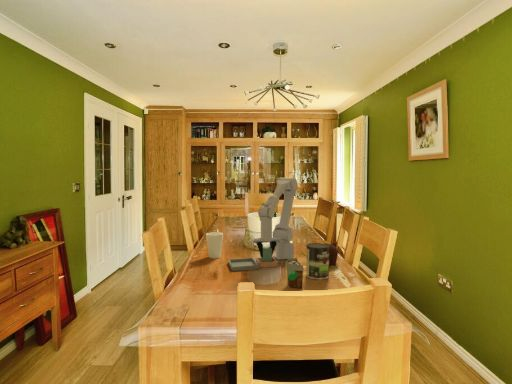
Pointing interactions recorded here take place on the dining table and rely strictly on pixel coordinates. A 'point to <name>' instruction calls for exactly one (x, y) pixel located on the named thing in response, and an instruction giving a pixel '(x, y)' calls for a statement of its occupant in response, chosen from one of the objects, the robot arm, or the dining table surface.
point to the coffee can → (317, 261)
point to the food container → (294, 273)
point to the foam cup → (214, 244)
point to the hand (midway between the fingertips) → (266, 256)
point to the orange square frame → (267, 263)
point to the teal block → (267, 254)
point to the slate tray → (243, 264)
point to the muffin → (332, 254)
